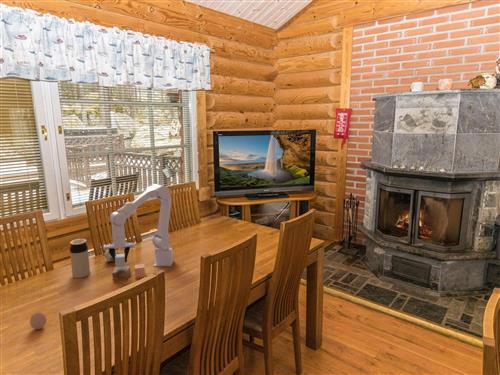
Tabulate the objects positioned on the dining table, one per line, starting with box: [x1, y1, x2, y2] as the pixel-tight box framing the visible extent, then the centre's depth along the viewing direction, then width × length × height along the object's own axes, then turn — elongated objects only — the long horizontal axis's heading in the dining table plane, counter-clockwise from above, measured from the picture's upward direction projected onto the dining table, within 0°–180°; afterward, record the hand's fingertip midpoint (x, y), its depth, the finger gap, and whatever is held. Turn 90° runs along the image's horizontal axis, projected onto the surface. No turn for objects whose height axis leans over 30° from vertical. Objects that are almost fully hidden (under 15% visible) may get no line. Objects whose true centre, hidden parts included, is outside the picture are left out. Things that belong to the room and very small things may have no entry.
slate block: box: [114, 253, 127, 268], centre depth 167 cm, size 4×4×5 cm
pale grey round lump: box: [102, 249, 121, 263], centre depth 186 cm, size 9×8×10 cm
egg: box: [29, 310, 47, 330], centre depth 125 cm, size 5×5×7 cm
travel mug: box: [69, 238, 91, 279], centre depth 168 cm, size 8×8×18 cm
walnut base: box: [111, 265, 131, 281], centre depth 168 cm, size 7×7×4 cm
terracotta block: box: [134, 263, 146, 279], centre depth 170 cm, size 4×4×5 cm
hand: (120, 262), depth 167 cm, fingers closed on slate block, 4 cm apart
